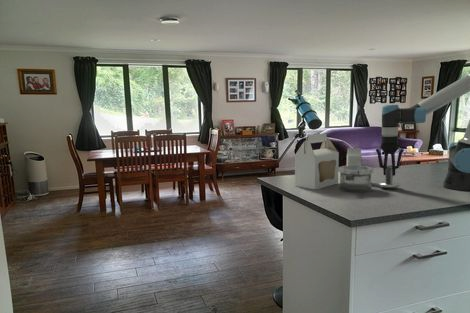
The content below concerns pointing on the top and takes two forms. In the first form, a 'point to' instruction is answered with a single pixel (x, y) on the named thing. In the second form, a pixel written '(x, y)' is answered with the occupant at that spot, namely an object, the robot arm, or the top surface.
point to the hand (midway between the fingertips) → (389, 181)
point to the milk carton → (354, 156)
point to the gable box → (316, 163)
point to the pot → (355, 178)
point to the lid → (388, 177)
